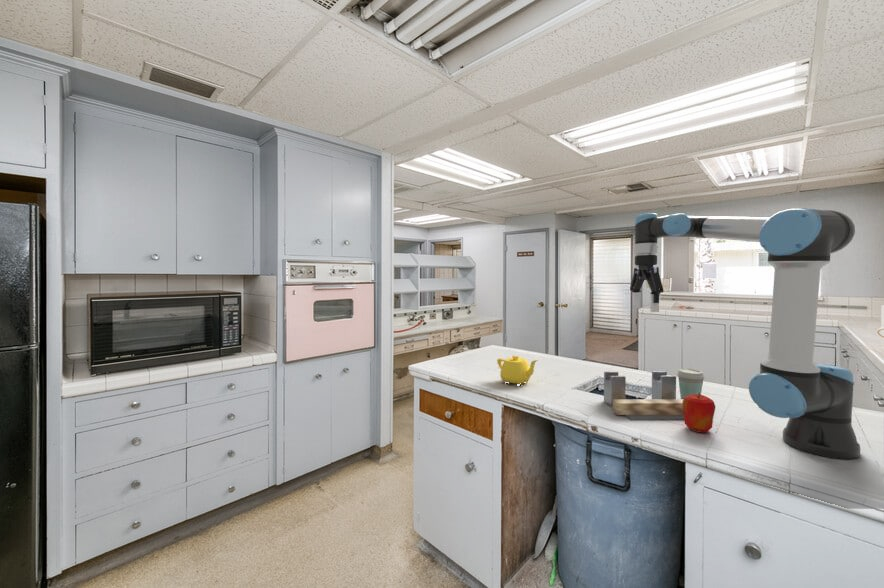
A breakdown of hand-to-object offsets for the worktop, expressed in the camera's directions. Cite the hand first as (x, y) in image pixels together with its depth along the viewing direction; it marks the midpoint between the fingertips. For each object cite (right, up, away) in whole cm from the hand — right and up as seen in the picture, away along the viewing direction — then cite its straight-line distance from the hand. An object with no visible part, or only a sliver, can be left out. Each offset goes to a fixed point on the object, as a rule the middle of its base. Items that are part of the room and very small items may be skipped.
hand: (645, 310), depth 142 cm
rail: (-5, -35, -14) cm, 38 cm away
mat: (-3, -36, -14) cm, 38 cm away
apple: (+2, -36, -27) cm, 45 cm away
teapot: (-44, -34, +26) cm, 62 cm away
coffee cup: (+15, -35, -3) cm, 38 cm away
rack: (-5, -35, -4) cm, 36 cm away
